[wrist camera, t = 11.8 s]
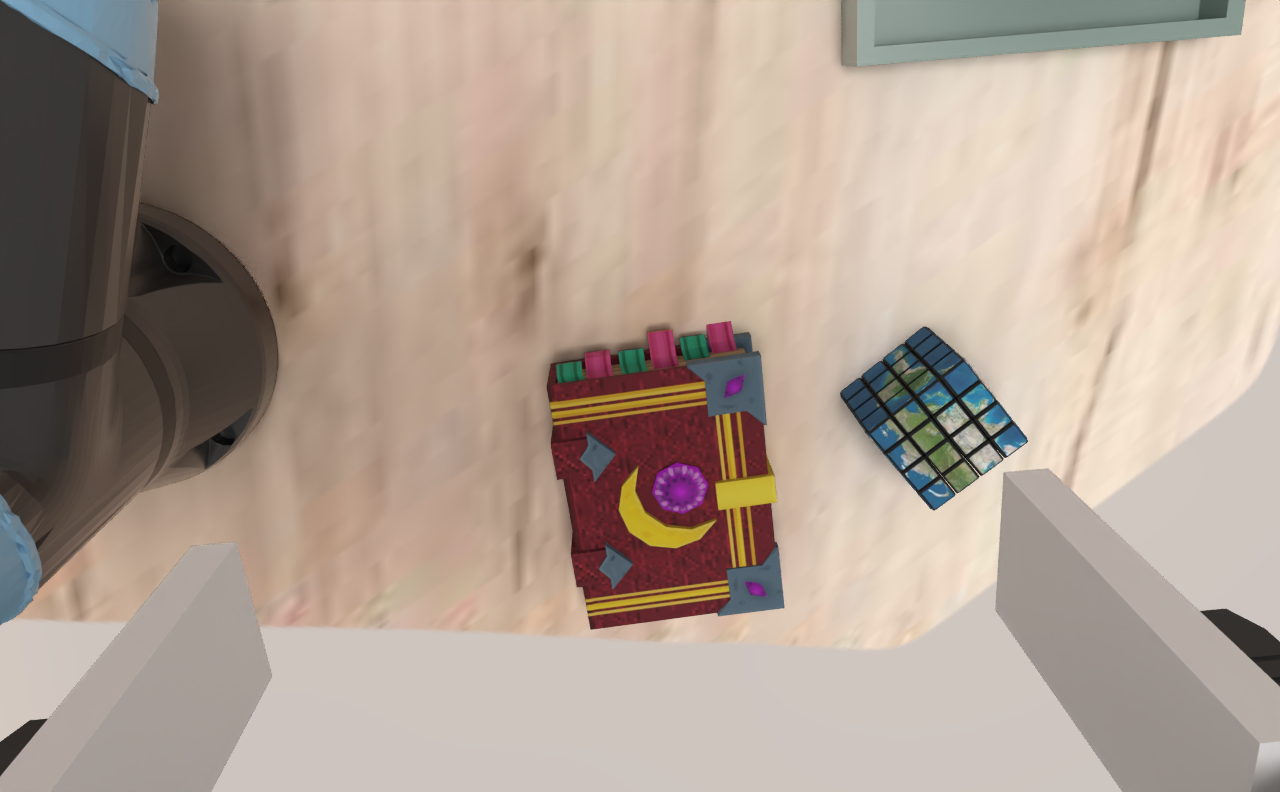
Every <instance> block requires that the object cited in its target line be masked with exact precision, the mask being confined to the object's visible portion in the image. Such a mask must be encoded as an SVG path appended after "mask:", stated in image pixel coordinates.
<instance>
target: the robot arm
mask: <svg viewBox="0 0 1280 792" xmlns="http://www.w3.org/2000/svg"><path fill="white" fill-rule="evenodd" d="M158 14H159V6H158V0H0V625H1V624H2V623H5V622H8V621H9V620H11V619H13V618H14V617H16V616H17V615H18V614H20V613H21V612H22V611H23V610H24V609H25V608H26V607H27V605H28V604H29V603H31V602H32V601H33V596H34V595H35V594H37V593H38V590H39V589H40V588H41V587H42V586H43V585H44V584H45V583H46V582H47V581H48V580H49V579H50V578H51V577H52V576H53V575H54V574H55V573H56V572H57V571H58V570H59V569H60V568H61V567H62V566H63V565H65V564H66V563H67V562H68V561H69V560H70V559H71V558H72V557H73V556H74V555H75V554H76V553H77V552H78V551H79V550H80V549H81V548H82V547H83V546H84V545H85V544H86V543H87V542H88V541H89V540H90V539H91V538H93V537H94V536H95V535H96V534H97V533H98V532H99V531H100V530H101V529H102V528H103V527H104V526H105V525H106V524H107V523H108V522H109V521H110V520H111V519H112V518H113V517H114V516H115V515H116V514H117V513H118V512H119V511H121V510H122V509H123V508H124V507H125V506H126V505H127V504H128V503H129V502H130V501H131V500H132V499H133V498H134V497H135V496H136V495H137V494H138V493H140V492H143V491H147V490H151V489H154V488H158V487H161V486H165V485H168V484H172V483H176V482H179V481H182V480H185V479H188V478H191V477H193V476H195V475H198V474H200V473H202V472H203V471H205V470H207V469H209V468H210V467H212V466H214V465H215V464H217V463H218V462H220V461H221V460H222V459H224V458H225V457H226V456H228V455H229V454H230V453H231V452H232V451H233V450H234V449H235V448H236V447H237V446H238V445H239V444H240V443H241V442H242V441H243V439H244V438H245V437H246V436H247V435H248V434H249V433H250V432H251V431H252V430H253V428H254V427H255V426H256V425H257V423H258V422H259V420H260V419H261V417H262V416H263V414H264V412H265V410H266V408H267V406H268V404H269V401H270V399H271V396H272V393H273V390H274V386H275V381H276V375H277V364H278V353H277V342H276V336H275V330H274V327H273V323H272V319H271V316H270V313H269V311H268V308H267V306H266V303H265V301H264V299H263V297H262V295H261V293H260V291H259V289H258V288H257V286H256V284H255V283H254V281H253V280H252V278H251V277H250V275H249V274H248V272H247V271H246V270H245V269H244V267H243V266H242V265H241V264H240V262H239V261H238V260H237V259H236V258H235V257H234V256H233V255H232V254H231V253H230V252H229V251H228V250H227V249H226V248H225V247H224V246H223V245H222V244H221V243H219V242H218V241H217V240H216V239H215V238H213V237H212V236H211V235H209V234H208V233H207V232H205V231H204V230H202V229H201V228H199V227H198V226H196V225H194V224H193V223H191V222H189V221H187V220H185V219H184V218H181V217H179V216H177V215H175V214H173V213H170V212H168V211H165V210H163V209H160V208H157V207H154V206H151V205H147V204H143V203H139V198H140V189H141V181H142V173H143V164H144V156H145V148H146V139H147V131H148V123H149V114H150V106H151V104H156V105H157V104H158V101H159V89H158V88H157V86H156V85H155V84H154V70H155V56H156V42H157V28H158ZM995 610H996V612H997V613H998V615H999V616H1000V617H1001V619H1002V620H1003V621H1004V623H1005V625H1006V626H1007V627H1008V629H1009V630H1010V632H1011V633H1012V635H1013V636H1014V637H1015V639H1016V640H1017V642H1018V643H1019V645H1020V646H1021V647H1022V649H1023V650H1024V652H1025V653H1026V655H1027V656H1028V657H1029V659H1030V660H1031V662H1032V663H1033V664H1034V666H1035V668H1036V669H1037V670H1038V672H1039V673H1040V675H1041V676H1042V677H1043V679H1044V680H1045V682H1046V683H1047V685H1048V686H1049V688H1050V689H1051V690H1052V692H1053V693H1054V695H1055V696H1056V697H1057V699H1058V700H1059V702H1060V703H1061V705H1062V706H1063V708H1064V709H1065V710H1066V712H1067V713H1068V715H1069V716H1070V717H1071V719H1072V720H1073V722H1074V723H1075V725H1076V726H1077V728H1078V729H1079V730H1080V732H1081V733H1082V735H1083V736H1084V738H1085V739H1086V740H1087V742H1088V743H1089V745H1090V746H1091V748H1092V749H1093V751H1094V752H1095V753H1096V755H1097V756H1098V758H1099V759H1100V760H1101V762H1102V763H1103V765H1104V766H1105V767H1106V769H1107V771H1108V772H1109V773H1110V775H1111V776H1112V778H1113V779H1114V781H1115V782H1116V783H1117V785H1118V786H1119V788H1120V789H1121V790H1122V792H1280V642H1279V641H1278V640H1277V639H1276V638H1275V637H1274V636H1273V635H1271V634H1270V633H1269V632H1268V631H1267V630H1266V629H1264V628H1262V627H1260V626H1258V625H1257V624H1255V623H1253V622H1251V621H1249V620H1247V619H1245V618H1243V617H1241V616H1239V615H1237V614H1235V613H1233V612H1231V611H1229V610H1227V609H1217V610H1206V611H1199V610H1198V609H1197V608H1196V607H1195V606H1194V605H1193V604H1192V603H1191V602H1189V601H1188V600H1187V599H1186V598H1185V597H1184V596H1183V595H1182V594H1181V593H1180V592H1179V591H1178V590H1177V589H1176V588H1175V587H1173V586H1172V585H1171V584H1170V583H1169V582H1168V581H1167V580H1166V579H1165V578H1164V577H1163V576H1162V575H1161V574H1160V573H1159V572H1158V571H1157V570H1156V569H1154V568H1153V567H1152V566H1151V565H1150V564H1149V563H1148V562H1147V561H1146V560H1145V559H1144V558H1143V557H1142V556H1141V555H1140V554H1139V553H1137V552H1136V551H1135V550H1134V549H1133V548H1132V547H1131V546H1130V545H1129V544H1128V543H1127V542H1126V541H1125V540H1124V539H1123V538H1122V537H1120V536H1119V535H1118V534H1117V533H1116V532H1115V531H1114V530H1113V529H1112V528H1111V527H1110V526H1109V525H1108V524H1107V523H1106V522H1104V521H1103V520H1102V519H1101V518H1100V517H1099V516H1098V515H1097V514H1096V513H1095V512H1094V511H1093V510H1092V509H1091V508H1090V507H1089V506H1088V505H1087V504H1085V503H1084V502H1083V501H1082V500H1081V499H1080V498H1079V497H1078V496H1077V495H1076V494H1075V493H1074V492H1073V491H1072V490H1071V489H1070V488H1068V487H1067V486H1066V485H1065V484H1064V483H1063V482H1062V481H1061V480H1060V479H1059V478H1058V477H1057V476H1056V475H1055V474H1054V473H1053V472H1051V471H1050V470H1049V469H1037V470H1026V471H1015V472H1004V476H1003V492H1002V509H1001V525H1000V542H999V558H998V575H997V591H996V608H995ZM271 677H272V673H271V669H270V665H269V662H268V658H267V654H266V650H265V647H264V643H263V639H262V636H261V632H260V628H259V624H258V620H257V617H256V613H255V609H254V605H253V601H252V598H251V594H250V590H249V586H248V583H247V579H246V575H245V571H244V568H243V564H242V560H241V556H240V552H239V549H238V545H237V542H229V543H218V544H206V545H195V546H191V547H190V548H189V550H188V551H187V552H186V553H185V554H184V556H183V557H182V558H181V559H180V561H179V562H178V563H177V564H176V565H175V567H174V568H173V569H172V570H171V571H170V573H169V574H168V575H167V576H166V577H165V579H164V580H163V581H162V582H161V583H160V585H159V586H158V587H157V588H156V589H155V591H154V592H153V593H152V594H151V595H150V597H149V598H148V599H147V600H146V601H145V603H144V604H143V605H142V606H141V608H140V609H139V610H138V611H137V612H136V614H135V615H134V616H133V617H132V618H131V620H130V621H129V622H128V623H127V624H126V626H125V627H124V628H123V629H122V630H121V632H120V633H119V634H118V635H117V636H116V638H115V639H114V640H113V641H112V643H111V644H110V645H109V646H108V647H107V648H106V650H105V651H104V652H103V653H102V654H101V656H100V657H99V658H98V659H97V661H96V662H95V663H94V664H93V665H92V667H91V668H90V669H89V670H88V671H87V673H86V674H85V675H84V676H83V677H82V679H81V680H80V681H79V682H78V683H77V685H76V686H75V687H74V688H73V689H72V691H71V692H70V693H69V694H68V695H67V697H66V698H65V699H64V700H63V701H62V703H61V704H60V705H59V706H58V708H57V709H56V710H55V711H54V712H53V714H52V715H51V716H50V717H49V718H48V719H40V720H30V721H28V722H27V723H26V724H24V725H23V726H22V727H20V728H19V729H17V730H16V731H15V732H13V733H12V734H10V735H9V736H8V737H6V738H5V739H4V740H2V741H1V742H0V792H211V791H212V789H213V787H214V785H215V783H216V781H217V780H218V778H219V776H220V774H221V772H222V770H223V768H224V766H225V765H226V763H227V761H228V759H229V757H230V755H231V753H232V751H233V749H234V748H235V746H236V744H237V741H238V740H239V738H240V736H241V734H242V732H243V730H244V728H245V727H246V725H247V723H248V721H249V719H250V717H251V715H252V713H253V712H254V710H255V708H256V706H257V704H258V702H259V700H260V698H261V696H262V695H263V693H264V691H265V689H266V687H267V685H268V683H269V681H270V679H271Z"/></svg>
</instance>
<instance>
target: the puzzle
mask: <svg viewBox="0 0 1280 792" xmlns="http://www.w3.org/2000/svg"><path fill="white" fill-rule="evenodd" d="M905 344H906V345H907V347H908V348H909V349H910V350H911V351H910V350H909V349H908V348H907V347H906V346H905V345H904V344H902V345H900V346H899V347H897V348H896V349H895V350H894V351H892V352H891V353H890V354H889V355H887V356H886V357H885V358H884V360H883V361H884V362H885V363H886V365H887V366H888V367H889V368H890V370H891V371H892V372H893V373H894V374H895V375H894V374H893V373H892V372H891V371H890V370H889V368H888V367H887V366H886V365H885V364H884V363H883V362H882V361H881V362H878V363H877V364H876V365H875V366H873V367H872V368H871V369H869V370H868V371H867V372H866V373H864V374H863V376H862V379H863V380H864V381H865V382H866V384H867V385H868V386H869V387H870V389H871V390H872V391H873V392H872V391H871V390H870V389H869V387H868V386H867V385H866V384H865V383H864V381H863V380H862V379H861V378H859V379H857V380H856V381H854V382H853V383H852V384H850V385H849V386H848V387H847V388H845V389H844V390H843V391H842V392H841V397H842V399H843V400H844V402H845V403H846V404H847V406H848V408H849V409H850V410H851V412H852V413H853V415H854V416H855V418H856V419H857V421H858V422H859V424H860V425H861V427H862V428H863V429H864V431H865V432H866V434H867V435H868V436H869V438H870V439H871V440H872V441H873V442H874V443H875V445H876V446H877V447H878V448H879V449H880V450H881V451H882V452H883V454H884V455H885V456H886V457H887V459H888V460H889V461H890V462H891V463H892V464H893V466H894V467H895V468H896V469H897V470H898V471H899V472H900V473H901V475H902V476H903V477H904V478H905V480H906V481H907V482H908V483H909V484H910V485H911V487H912V488H913V489H914V490H915V491H916V492H917V493H918V495H919V496H920V497H921V498H922V499H923V501H924V502H925V503H926V504H927V505H928V506H929V508H930V509H931V508H932V510H936V509H938V508H939V507H940V506H942V505H943V504H944V503H946V502H947V501H948V500H950V499H951V498H953V497H954V496H955V493H954V491H955V492H956V493H959V492H961V491H962V490H963V489H965V488H966V487H967V486H969V485H970V484H971V483H973V482H974V481H976V480H977V479H978V478H979V475H978V474H977V473H976V472H975V470H976V471H977V472H978V473H979V474H980V476H982V475H983V474H985V473H987V472H988V471H989V470H991V469H992V468H993V467H995V466H996V465H997V464H999V463H1000V462H1002V461H1003V457H1004V458H1006V457H1008V456H1010V455H1011V454H1012V453H1014V452H1015V451H1016V450H1018V449H1019V448H1020V447H1022V446H1023V445H1024V444H1026V443H1027V442H1028V440H1027V437H1026V436H1025V435H1024V433H1023V432H1022V431H1021V430H1020V428H1019V427H1018V426H1017V425H1016V423H1015V422H1014V421H1013V420H1012V418H1011V417H1010V416H1009V414H1008V413H1007V412H1006V411H1005V409H1004V408H1003V407H1002V406H1001V404H1000V403H999V402H998V401H997V400H996V399H995V397H994V395H993V394H992V393H991V392H990V390H989V389H988V388H987V386H986V385H985V384H984V383H983V381H982V380H981V379H979V378H978V377H979V376H978V375H977V374H976V372H975V371H974V370H973V369H972V367H971V366H970V365H969V364H968V362H967V361H966V360H965V359H964V358H963V357H962V356H961V355H959V354H958V353H956V351H955V350H954V349H952V348H951V347H950V346H949V345H948V344H946V343H945V342H944V341H943V340H942V339H941V338H940V337H938V336H936V334H935V333H934V332H933V331H931V330H930V329H929V328H927V327H923V328H922V329H920V330H919V331H918V332H917V333H915V334H914V335H913V336H911V337H910V338H909V339H908V340H906V342H905ZM897 378H898V379H899V380H900V381H899V380H898V379H897ZM874 394H875V395H876V396H877V397H876V396H875V395H874ZM879 400H880V401H881V402H880V401H879ZM884 406H885V407H884ZM1010 418H1011V419H1010ZM995 448H996V449H997V450H998V451H997V450H996V449H995ZM999 453H1000V454H1001V455H1002V456H1003V457H1002V456H1001V455H1000V454H999ZM961 454H962V455H963V456H964V457H963V456H962V455H961ZM966 460H967V461H968V462H969V463H970V464H971V465H972V467H973V468H974V469H975V470H974V469H973V468H972V467H971V466H970V464H969V463H968V462H967V461H966ZM932 464H933V465H932ZM936 469H937V470H938V471H939V472H938V471H937V470H936ZM940 474H941V475H942V476H943V477H942V476H941V475H940ZM944 479H945V480H946V481H947V482H948V483H949V485H950V486H951V487H952V488H953V489H954V491H953V490H952V489H951V487H950V486H949V485H948V484H947V482H946V481H945V480H944Z"/></svg>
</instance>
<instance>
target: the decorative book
mask: <svg viewBox="0 0 1280 792" xmlns="http://www.w3.org/2000/svg"><path fill="white" fill-rule="evenodd" d="M706 326H707V332H708V338H707V339H705V336H704V334H703V335H696V336H689V337H682V338H680V344H681V346H676V347H675V345H674V338H673V331H672V329H668V330H661V331H654V332H647V334H648V341H649V349H650V350H647V351H643V348H640V349H633V350H626V351H618V355H611V356H610V350H603V351H595V352H588V353H585V359H582V360H575V361H568V362H561V363H554V364H551V366H550V372H549V378H548V383H547V391H548V397H549V403H550V408H551V414H552V419H553V431H552V438H551V449H552V454H553V460H554V465H555V471H556V476H557V480H559V479H563V480H564V485H565V491H566V496H567V502H568V507H569V513H570V518H571V524H572V529H573V534H572V548H571V558H572V563H573V568H574V574H575V579H576V585H577V587H583V590H584V596H585V601H586V607H587V612H588V618H589V623H590V629H591V630H592V629H599V628H607V627H614V626H621V625H629V624H636V623H644V622H651V621H659V620H666V619H673V618H681V617H688V616H696V615H703V614H711V613H718V616H725V615H733V614H741V613H749V612H756V611H764V610H772V609H780V608H784V599H783V589H782V579H781V570H780V560H779V550H778V545H777V542H775V541H774V530H773V520H772V509H771V503H775V502H777V497H776V487H775V476H774V473H773V471H772V468H771V466H770V463H769V461H768V458H767V455H766V447H765V436H764V426H763V424H764V425H767V423H766V412H765V400H764V389H763V377H762V366H761V355H760V353H759V351H756V352H752V343H751V335H750V334H749V332H748V333H741V334H734V335H733V331H732V326H731V321H729V322H722V323H715V324H708V325H706Z"/></svg>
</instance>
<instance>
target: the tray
mask: <svg viewBox="0 0 1280 792" xmlns="http://www.w3.org/2000/svg"><path fill="white" fill-rule="evenodd" d="M1245 2H1246V0H842V65H843V66H868V65H880V64H892V63H904V62H916V61H928V60H941V59H953V58H965V57H977V56H989V55H1001V54H1013V53H1026V52H1038V51H1050V50H1062V49H1074V48H1086V47H1098V46H1110V45H1123V44H1135V43H1147V42H1159V41H1171V40H1183V39H1195V38H1208V37H1220V36H1232V35H1241V31H1242V23H1243V16H1244V9H1245Z"/></svg>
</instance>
